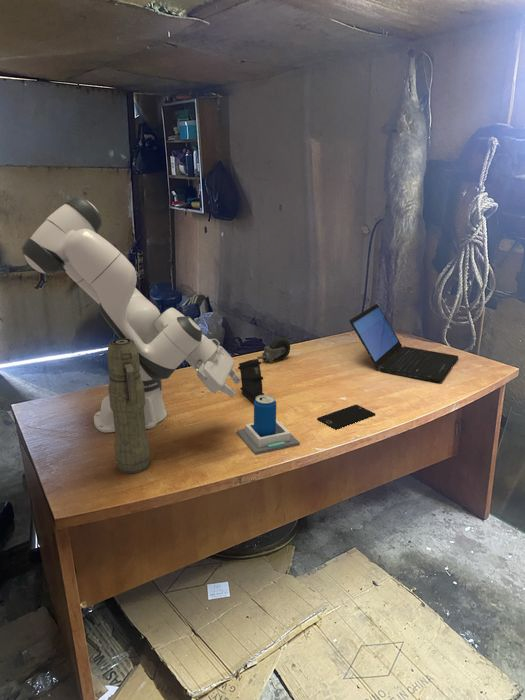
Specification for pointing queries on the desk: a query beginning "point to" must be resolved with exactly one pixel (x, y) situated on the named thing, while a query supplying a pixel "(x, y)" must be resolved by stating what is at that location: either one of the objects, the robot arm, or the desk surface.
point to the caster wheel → (276, 350)
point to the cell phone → (345, 416)
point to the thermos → (127, 406)
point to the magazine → (251, 379)
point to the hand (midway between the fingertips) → (236, 388)
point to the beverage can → (265, 415)
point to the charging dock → (267, 439)
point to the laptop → (385, 344)
